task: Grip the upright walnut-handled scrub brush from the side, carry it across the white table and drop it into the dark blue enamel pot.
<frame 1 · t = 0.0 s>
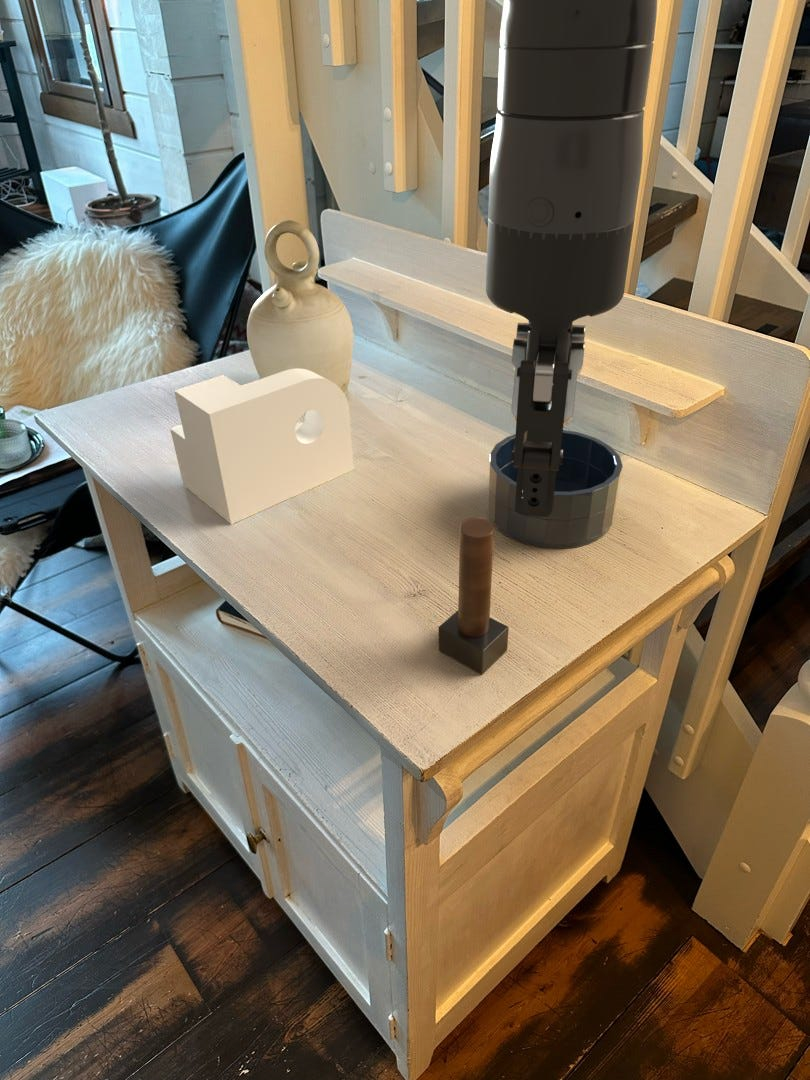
hand: (537, 476, 49), 24 cm above the cabinet top, tool pointing down, fingers open, 8 cm apart
jug: (307, 395, 116), on the cabinet top
brush: (472, 650, 70), on the cabinet top
pot: (549, 511, 88), on the cabinet top
tape dispenser: (269, 478, 96), on the cabinet top
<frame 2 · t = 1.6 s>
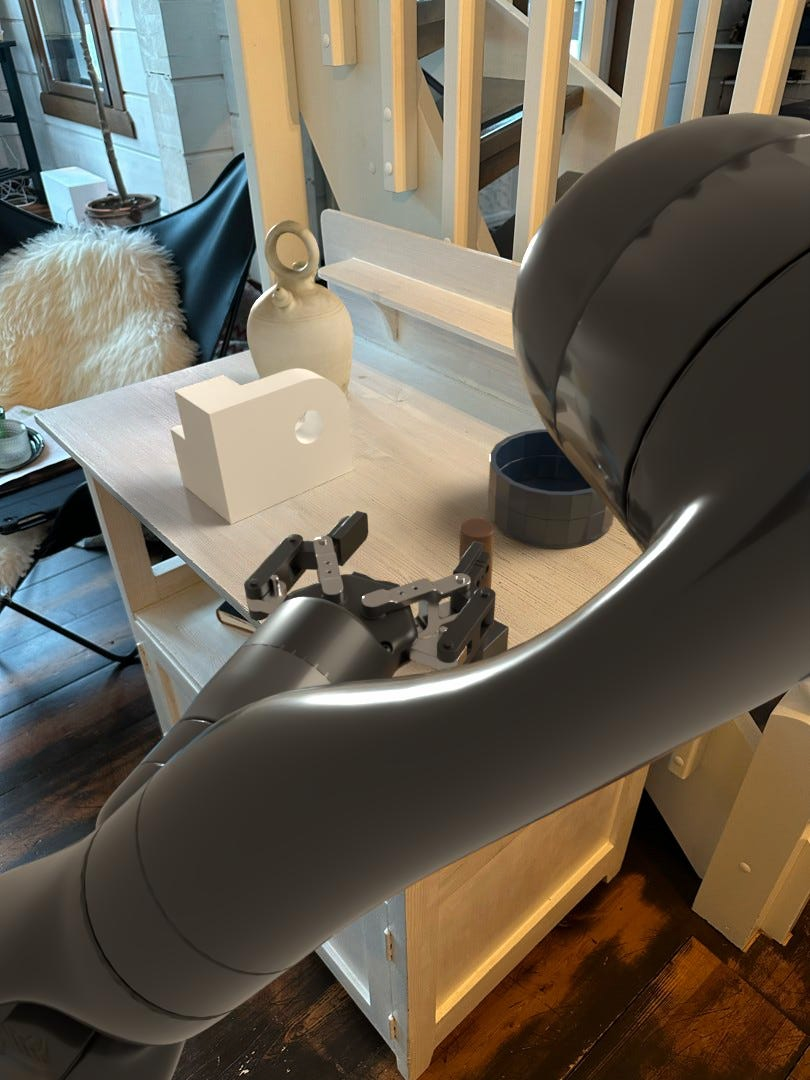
hand: (419, 537, 50), 20 cm above the cabinet top, tool horizontal, fingers open, 8 cm apart
nothing on the cabinet top moved.
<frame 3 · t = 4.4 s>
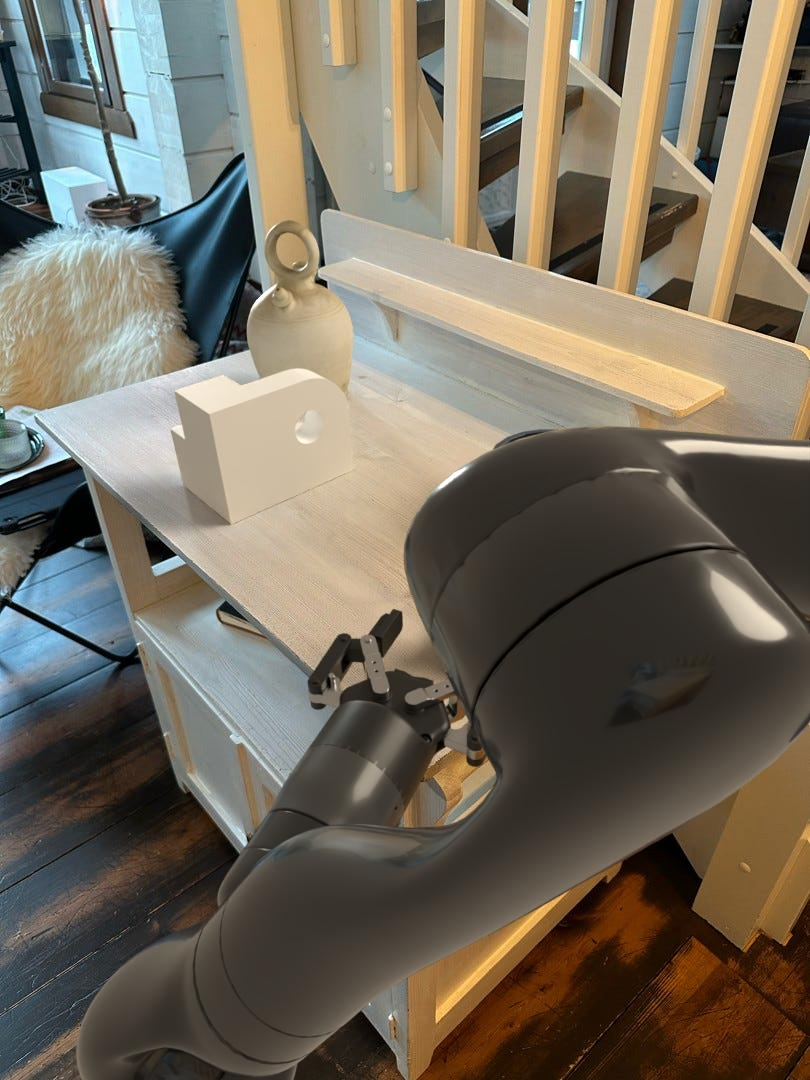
hand: (446, 631, 61), 8 cm above the cabinet top, tool horizontal, fingers open, 8 cm apart
nothing on the cabinet top moved.
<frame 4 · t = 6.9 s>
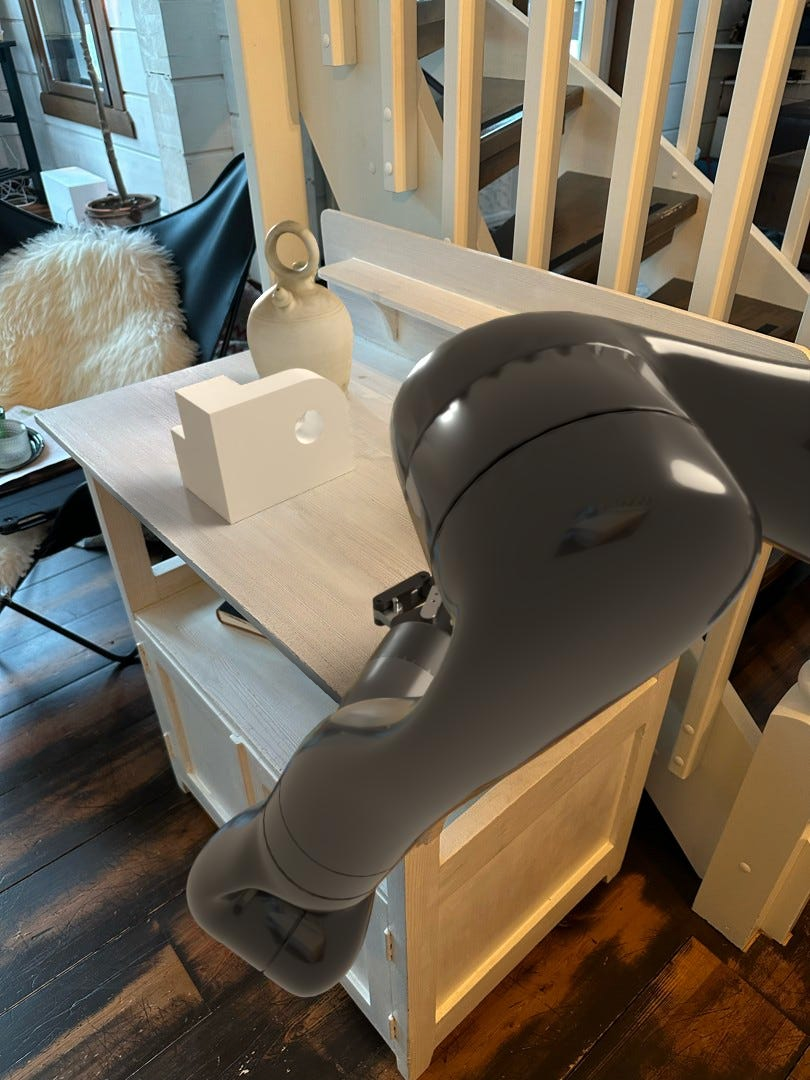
hand: (486, 564, 67), 8 cm above the cabinet top, tool horizontal, fingers closed on brush, 3 cm apart
brush: (472, 650, 70), on the cabinet top, touching gripper
everything else where it was.
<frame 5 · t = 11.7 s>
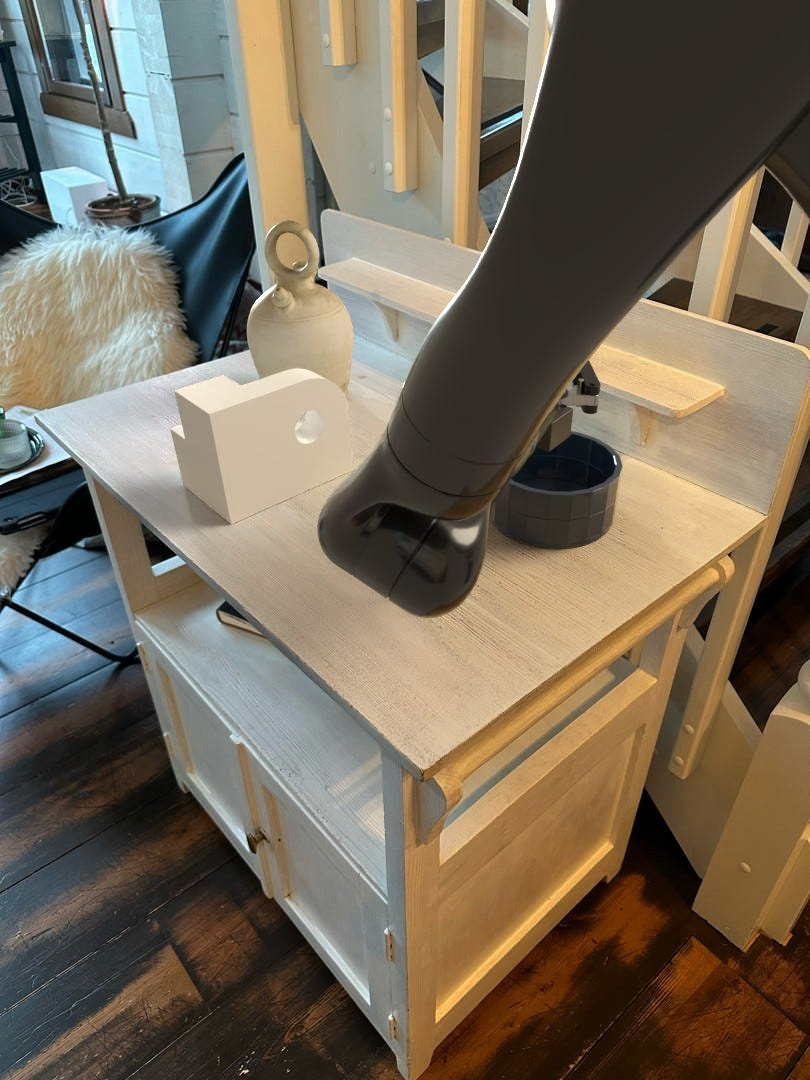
hand: (552, 347, 72), 22 cm above the cabinet top, tool horizontal, fingers closed on brush, 3 cm apart
brush: (537, 436, 74), point 14 cm above the cabinet top, touching gripper
everything else where it was.
when the fingers open (9 cm above the cabinet top, at t = 16.5 s): brush stays where it is, resting on pot.
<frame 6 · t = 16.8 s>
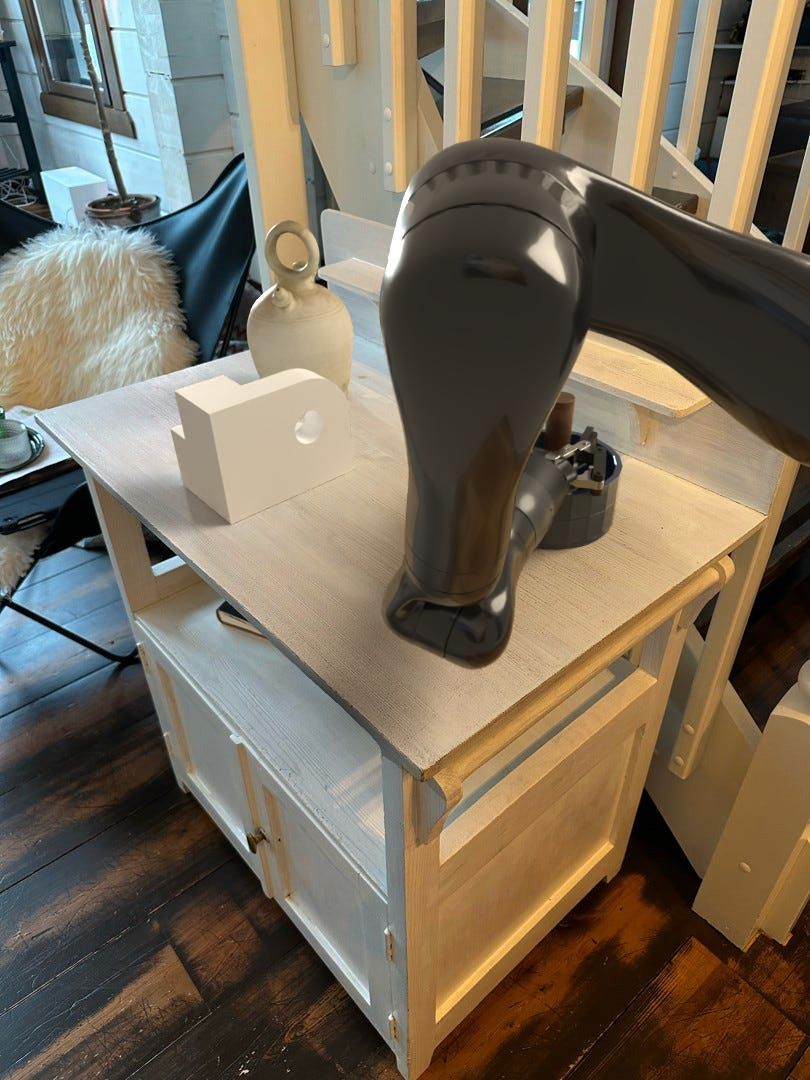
hand: (563, 429, 84), 9 cm above the cabinet top, tool horizontal, fingers open, 5 cm apart
brush: (550, 507, 88), point 1 cm above the cabinet top, touching pot
everything else where it was.
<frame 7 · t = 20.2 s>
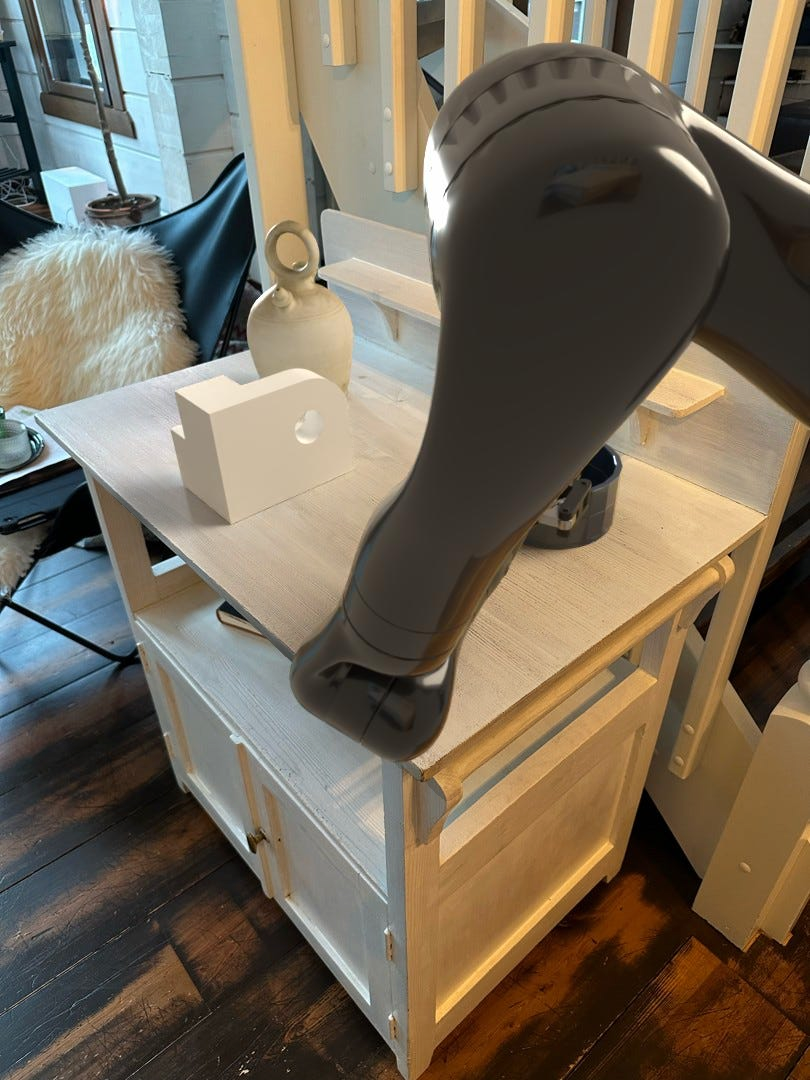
hand: (529, 453, 72), 13 cm above the cabinet top, tool horizontal, fingers open, 8 cm apart
nothing on the cabinet top moved.
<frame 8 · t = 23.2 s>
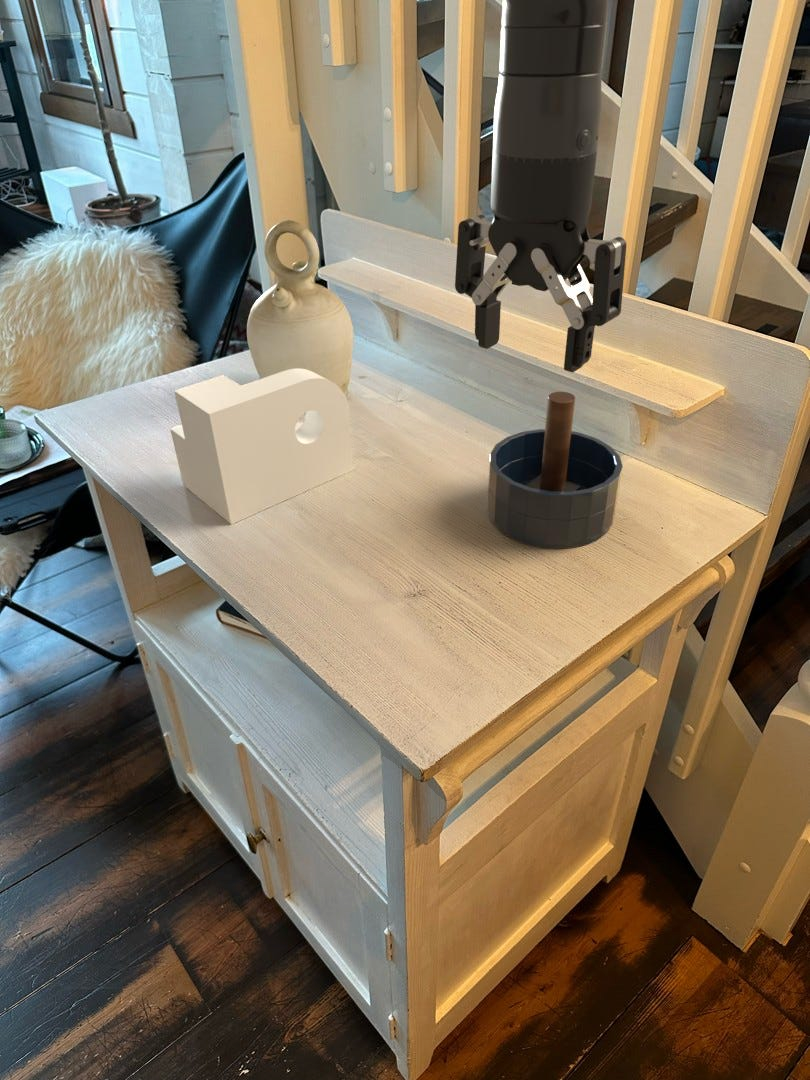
hand: (529, 356, 64), 24 cm above the cabinet top, tool pointing down, fingers open, 8 cm apart
nothing on the cabinet top moved.
at the end: brush inside the target area in the pot (0.0 cm from its centre), point 0.6 cm above the pot's base; the gripper is holding nothing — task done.
